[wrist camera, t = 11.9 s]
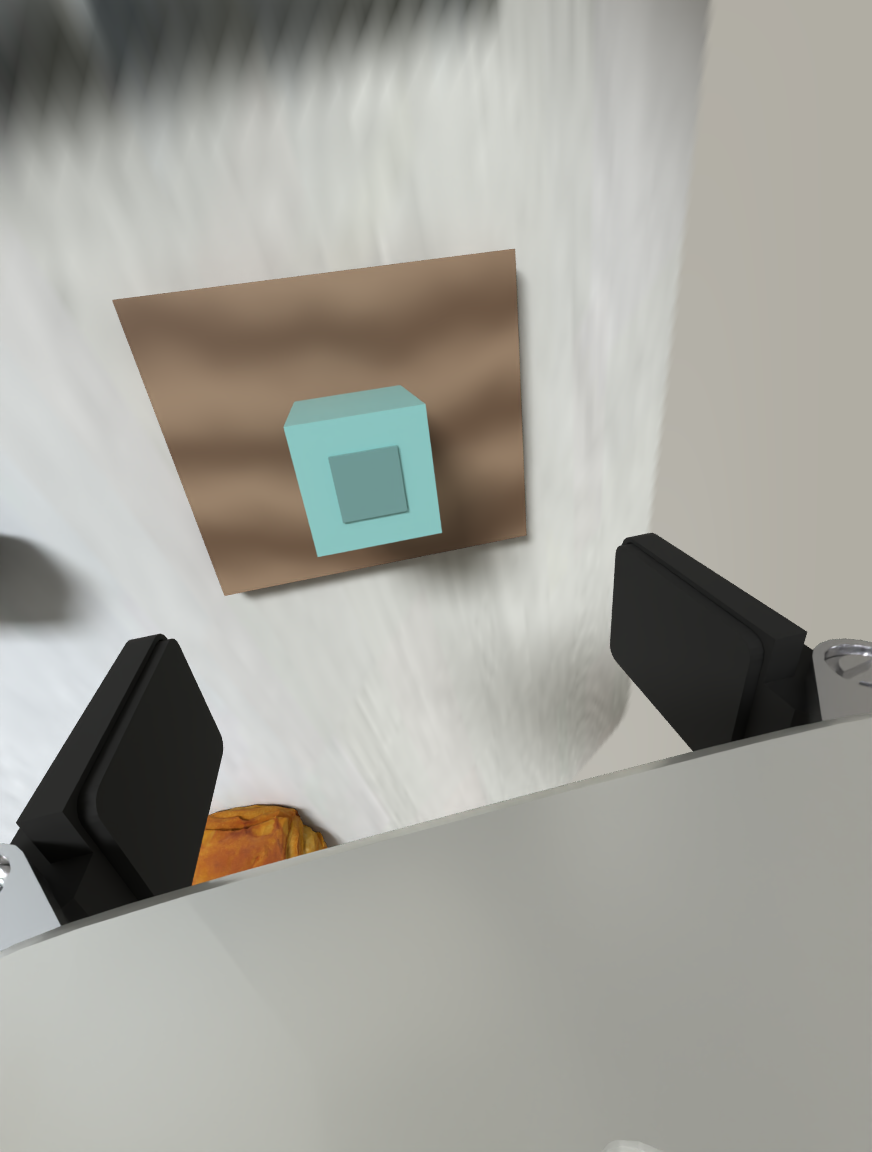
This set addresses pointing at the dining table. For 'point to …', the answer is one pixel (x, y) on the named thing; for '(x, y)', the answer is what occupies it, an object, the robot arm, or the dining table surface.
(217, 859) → the croissant
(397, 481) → the teal block
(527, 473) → the dining table surface
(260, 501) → the stud board
